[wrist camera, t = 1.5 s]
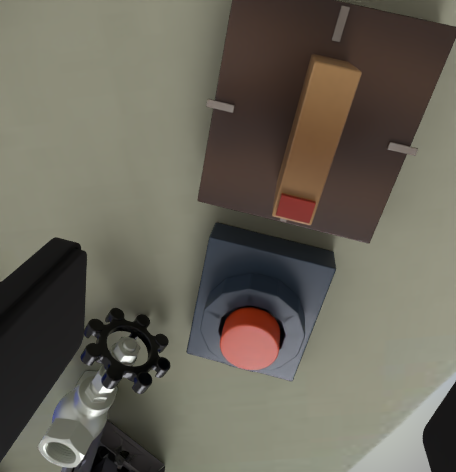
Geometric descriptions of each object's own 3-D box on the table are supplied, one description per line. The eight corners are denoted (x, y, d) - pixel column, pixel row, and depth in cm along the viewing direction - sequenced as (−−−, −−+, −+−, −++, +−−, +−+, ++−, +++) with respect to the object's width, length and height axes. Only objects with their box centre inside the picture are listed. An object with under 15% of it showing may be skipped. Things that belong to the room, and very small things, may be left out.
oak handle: (311, 53, 19) (314, 61, 15) (349, 62, 19) (363, 72, 15) (276, 182, 22) (270, 218, 18) (309, 190, 22) (311, 228, 18)
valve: (121, 414, 38) (182, 336, 32) (88, 485, 32) (156, 404, 26) (57, 379, 37) (109, 293, 31) (12, 445, 31) (65, 354, 26)
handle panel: (237, -18, 21) (227, -24, 18) (447, 28, 20) (470, 29, 17) (202, 182, 26) (190, 201, 23) (367, 223, 25) (376, 246, 23)
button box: (215, 221, 27) (203, 250, 24) (333, 251, 27) (338, 285, 23) (193, 333, 32) (179, 371, 28) (293, 360, 31) (292, 402, 28)
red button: (230, 300, 25) (225, 318, 24) (286, 314, 25) (285, 333, 24) (219, 342, 27) (214, 361, 25) (272, 356, 27) (270, 376, 25)
